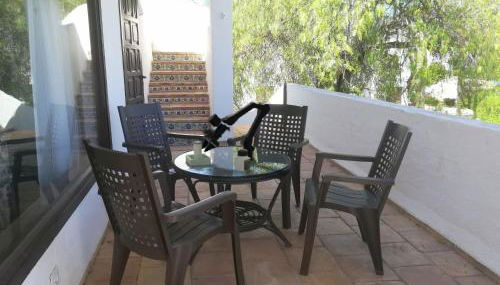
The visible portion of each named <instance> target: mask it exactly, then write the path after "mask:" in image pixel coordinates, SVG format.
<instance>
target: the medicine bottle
mask: <svg viewBox="0 0 500 285" xmlns="http://www.w3.org/2000/svg"><path fill="white" fill-rule="evenodd" d="M236 156H237V157H235V158H234V159H233V165H234V167H233V170H234V171H237V172H244V173H245V172H247V171H250V170H251V169H252V168H251V167H252V166H251V165H252V164H251V163H252V162H251V158H249V157H248V151H247V150H244V149H243V148H242V149H238V150H237V154H236Z"/></svg>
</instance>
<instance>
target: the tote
mask: <svg viewBox="0 0 500 285" xmlns="http://www.w3.org/2000/svg"><path fill="white" fill-rule="evenodd" d="M211 160H212V158H211V157H210V156H208V155H207V154H206V152H202V159H194V153H193V154H192V153H191V154H190V153H189V154H185V163H186V164H187V165H188V166H189V167H190V168H195V167H196V168H197V167H199V168H200V167H207V166H208V167H209V166H212V165H211V164H212V162H211Z"/></svg>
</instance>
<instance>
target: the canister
mask: <svg viewBox="0 0 500 285" xmlns="http://www.w3.org/2000/svg"><path fill="white" fill-rule="evenodd" d="M202 143H203V142H202V141H201V140H198V141H197V140H195V141H193V154H194V159H202V154H203V149H202Z"/></svg>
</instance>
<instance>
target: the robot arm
mask: <svg viewBox="0 0 500 285" xmlns="http://www.w3.org/2000/svg"><path fill="white" fill-rule="evenodd" d="M254 109H256V116H255V118H254V119H253V121H252V123H251V125H250V128H249V130H248V131H247V133H246V134H245V135H244V134H242V136H241V138H240V139H239V144H240V146H241V147H242V149H244V150H247V151H248V157H249V158H251V161H253V160H254V159H255V156H254V155H255V154H254V152H255V151H256V150H255V149H256V147H255V146H253V142H254V137H255V135H256V133H257V132H258V128H259V127H260V125H261V123H262V122H263V119H264V118H265V117H266V116H267V115H268V114H269V112H270V111H271V106H270V105H269V104H268V103H265V102H262V103H258V102H255V101H250V102H249V103H247V104H246V105H244V106H243V107H241V108H239V109H238V110H237V111H235V112H233V113H230V114H227V115H225V116H224V117H221V118H220V117H219V116H218V114H216V113H214V114H212V115H210V116H209V117H208V119H207V122H208V123H209V124H210V125H211V126H212V127H213V128H215V129H211V128H205V127H204V128H203V129H202V132H201V133H203V134H204V135H203V142H202V150H203V149H204V150H203V153H207V152H209V151H211V150H214V149H216V148H219V147H220V142H218V141H219V139H220V138H221V139H222V137H223V135H224V134H225V133H226V132H229V133H230V132H231V126H233V125H235V123H236V122H238V120H239V119H240V118H241V117H243V116H244V115H246V114H248V113H249V112H251V111H252V110H254Z"/></svg>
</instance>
